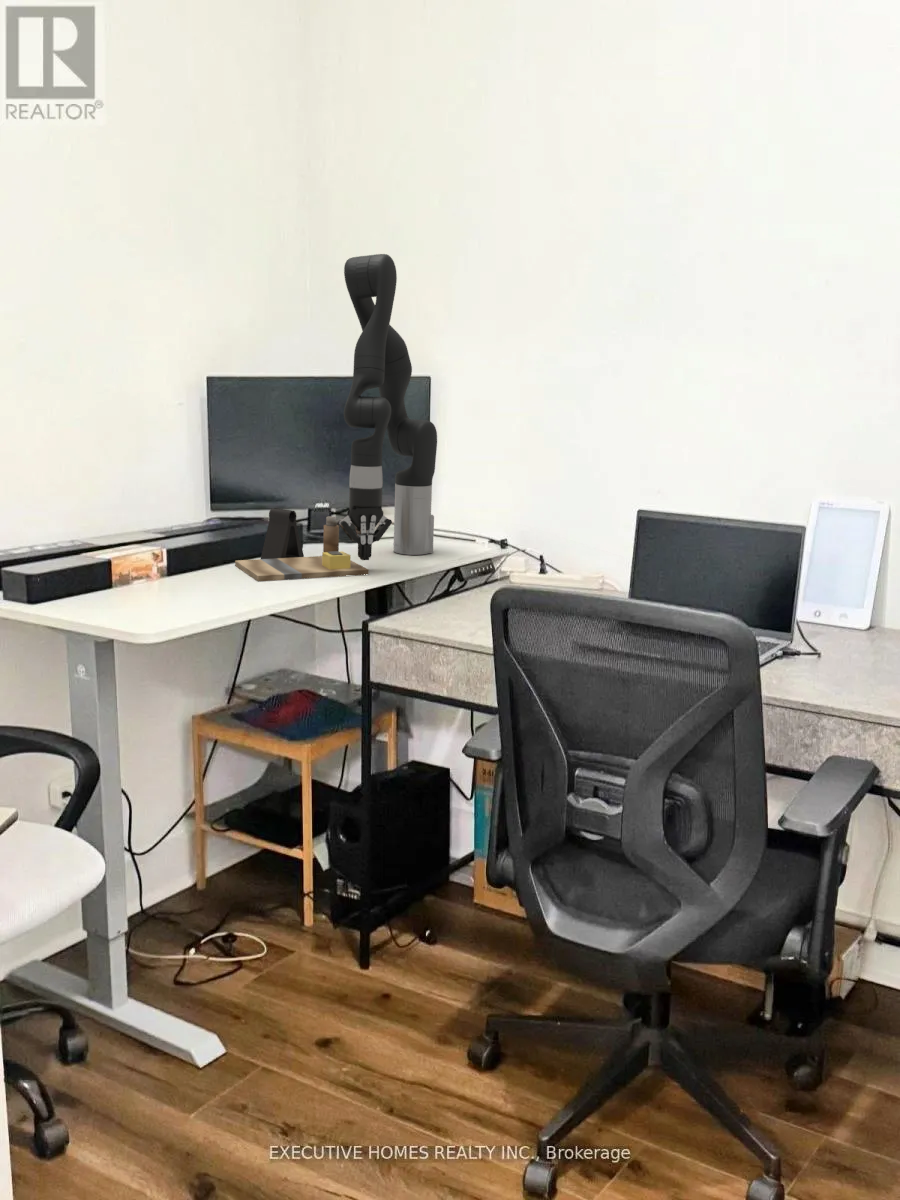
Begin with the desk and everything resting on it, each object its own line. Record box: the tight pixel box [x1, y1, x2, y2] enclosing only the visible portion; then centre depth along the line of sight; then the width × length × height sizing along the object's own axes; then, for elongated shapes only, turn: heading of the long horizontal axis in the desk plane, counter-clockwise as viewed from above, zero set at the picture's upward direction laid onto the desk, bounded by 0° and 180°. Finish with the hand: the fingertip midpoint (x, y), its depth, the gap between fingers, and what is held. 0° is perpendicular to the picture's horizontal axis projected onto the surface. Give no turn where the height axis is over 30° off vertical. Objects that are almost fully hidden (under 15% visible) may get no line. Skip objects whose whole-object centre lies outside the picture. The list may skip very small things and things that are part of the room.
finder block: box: [321, 550, 352, 569], centre depth 267 cm, size 5×5×3 cm
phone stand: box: [260, 507, 305, 559], centre depth 279 cm, size 9×6×12 cm, turn 148°
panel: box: [234, 555, 370, 582], centre depth 268 cm, size 26×18×1 cm
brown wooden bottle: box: [322, 515, 340, 552], centre depth 275 cm, size 4×4×10 cm
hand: (364, 559), depth 270 cm, fingers closed
